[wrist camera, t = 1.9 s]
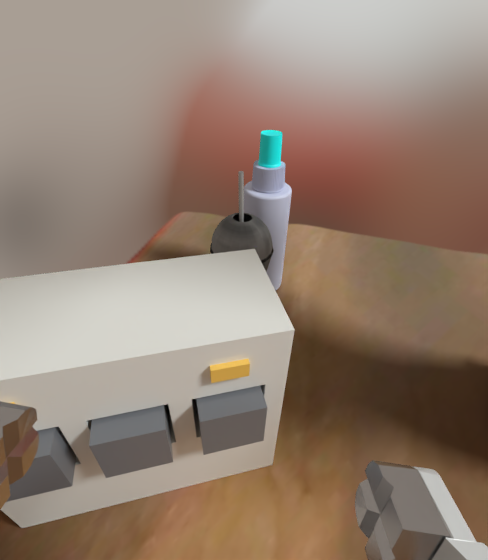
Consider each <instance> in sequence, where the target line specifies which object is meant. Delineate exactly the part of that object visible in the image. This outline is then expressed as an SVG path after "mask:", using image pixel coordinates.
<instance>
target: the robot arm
mask: <svg viewBox="0 0 488 560" xmlns="http://www.w3.org/2000/svg"><path fill="white" fill-rule="evenodd" d="M36 421H37V412H36V409H35V408H32V407H28V406H23V405H17V404H12V403H6V402H1V401H0V510H1V508H2V507H3V505H4V504H5V502H6V501H7V500H8V498H9V497H10V485H11V484H12V483H14V482H16V481H17V480H19V479H20V478H22V477H24V475H25V474H26V472H27V471H28V469H29V468H30V466H31V465H32V462H33V460H34V458H35V455H36V453H37V450H38V444H39V434H38V432H37V431H36V430H35V429H34V428H33V427H32V426H33V425H34V423H35V422H36ZM365 472H366V475H367V478H368V479H366V480H365V481H363V482H361V483H360V484H359V487H358V489H357V492H356V500H355V509H356V517H357V521H358V525H359V528H360V529H361V530H362V531H363V532H364V534H365V535H366V536H367V537H368V541H367V544H366V546H365V551H366V555H367V558H368V560H488V547H487V546H486V545H485V544H484V543H480V542H476V540H475V538H474V536H473V535H472V533H471V531H470V529H469V527H468V526H467V524H466V522H465V520H464V518H463V517H462V515H461V513H460V511H459V509H458V508H457V506H456V504H455V502H454V500H453V499H452V497H451V495H450V493H449V491H448V490H447V488H446V486H445V484H444V482H443V481H442V479H441V477H440V475H439V474H438V473H437V472H436V471H435V470H433V469H426V468H420V467H411V466H408V465H401V464H394V463H387V462H380V461H371V462H370V463H369V464H368V466H367V468H366V470H365Z"/></svg>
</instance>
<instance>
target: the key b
mask: <svg viewBox="0 0 488 560" xmlns="http://www.w3.org/2000/svg"><path fill="white" fill-rule="evenodd" d="M195 400H196V409H197V415H198V422H199V428H200V435H201V442H202V448H203V455H206V454H210V453H214V452H218V451H222V450H227V449H231V448H235V447H239V446H243V445H248V444H252V443H256V442H260V441H264V432H265V424H266V415H267V405H266V402H265V399H264V395H263V392H262V389H261V386H255V387H250V388H245V389H240V390H235V391H230V392H225V393H221V394H216V395H211V396H206V397H201V398H196V399H195Z"/></svg>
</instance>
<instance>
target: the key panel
mask: <svg viewBox="0 0 488 560" xmlns="http://www.w3.org/2000/svg"><path fill="white" fill-rule="evenodd" d="M294 331H295V329H294V327H293V325H292V323H291V321H290V319H289V317H288V315H287V313H286V311H285V309H284V307H283V305H282V303H281V301H280V299H279V297H278V295H277V293H276V291H275V289H274V287H273V285H272V283H271V281H270V279H269V277H268V275H267V273H266V271H265V269H264V266H263V264H262V262H261V260H260V258H259V256H258V254H257V252H256V250H255V249H248V250H240V251H231V252H223V253H214V254H206V255H197V256H189V257H181V258H172V259H164V260H155V261H147V262H138V263H130V264H121V265H113V266H105V267H96V268H88V269H80V270H71V271H62V272H55V273H45V274H37V275H28V276H20V277H12V278H3V279H0V401H1V402H6V403H12V404H17V405H23V406H28V407H32V408H35V409H36V412H37V421H36V422H35V423H34V425H33V426H32V427H33V428H34V429H35V430H36V431H38V430H43V429H48V428H53V427H59V428H60V430H61V431H62V433H63V435H64V436H65V438H66V440H67V441H68V443H69V445H70V446H71V448H72V449H73V451H74V453H75V454H76V462H75V470H74V477H73V485H72V486H71V487H67V488H63V489H58V490H54V491H50V492H46V493H42V494H37V495H33V496H29V497H25V498H21V499H16V500H12V501H8V502H5V504H4V505H3V507H2V508H1V511H3V512H4V513H5V514H6V515H7V516H8V517H10V518H11V519H12V520H13V521H14V522H15V523H16V524H18V525H19V526H20V527H21V528H25V527H29V526H33V525H37V524H41V523H45V522H49V521H53V520H57V519H61V518H65V517H69V516H73V515H77V514H81V513H85V512H88V511H92V510H96V509H100V508H104V507H108V506H112V505H116V504H120V503H124V502H128V501H132V500H136V499H140V498H144V497H147V496H151V495H155V494H159V493H163V492H167V491H171V490H175V489H179V488H183V487H187V486H191V485H195V484H199V483H203V482H206V481H210V480H214V479H218V478H222V477H226V476H230V475H234V474H238V473H242V472H246V471H250V470H254V469H258V468H262V467H266V466H269V465H272V464H273V458H274V452H275V446H276V440H277V434H278V428H279V422H280V416H281V410H282V404H283V397H284V391H285V385H286V379H287V373H288V367H289V361H290V355H291V349H292V343H293V337H294ZM255 386H261V389H262V392H263V395H264V399H265V402H266V405H267V415H266V424H265V432H264V441H260V442H256V443H252V444H248V445H243V446H239V447H235V448H231V449H227V450H222V451H218V452H214V453H210V454H206V455H203V448H202V442H201V435H200V428H199V422H198V415H197V409H196V400H195V399H196V398H201V397H206V396H211V395H216V394H221V393H225V392H230V391H235V390H240V389H245V388H250V387H255ZM166 404H167V405H168V410H169V416H170V429H171V441H172V453H173V462H172V463H168V464H164V465H159V466H155V467H151V468H147V469H143V470H138V471H134V472H130V473H126V474H122V475H117V476H113V477H109V478H106V477H105V475H104V473H103V471H102V469H101V468H100V466H99V464H98V462H97V460H96V458H95V457H94V455H93V453H92V451H91V449H90V447H89V441H90V432H91V422H92V420H93V419H98V418H102V417H107V416H112V415H117V414H122V413H127V412H132V411H137V410H142V409H147V408H152V407H157V406H162V405H166Z"/></svg>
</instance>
